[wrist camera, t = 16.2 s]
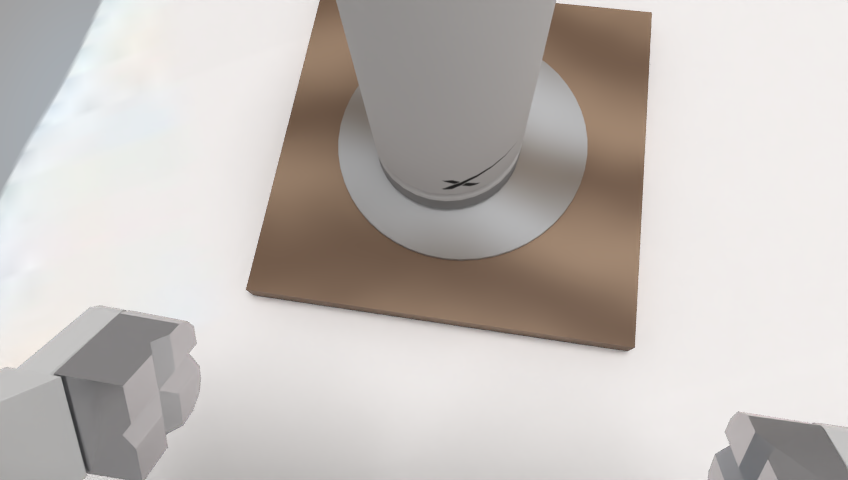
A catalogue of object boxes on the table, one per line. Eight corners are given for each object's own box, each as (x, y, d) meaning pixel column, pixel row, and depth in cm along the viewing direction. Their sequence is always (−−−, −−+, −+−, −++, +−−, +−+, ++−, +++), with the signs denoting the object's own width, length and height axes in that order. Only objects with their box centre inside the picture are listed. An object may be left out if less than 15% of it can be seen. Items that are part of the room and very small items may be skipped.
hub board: (627, 351, 24) (636, 346, 23) (253, 294, 26) (243, 287, 25) (645, 26, 29) (653, 8, 28) (328, -6, 31) (323, -24, 29)
